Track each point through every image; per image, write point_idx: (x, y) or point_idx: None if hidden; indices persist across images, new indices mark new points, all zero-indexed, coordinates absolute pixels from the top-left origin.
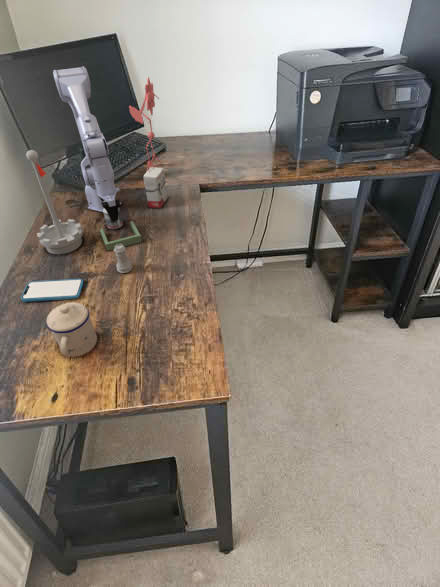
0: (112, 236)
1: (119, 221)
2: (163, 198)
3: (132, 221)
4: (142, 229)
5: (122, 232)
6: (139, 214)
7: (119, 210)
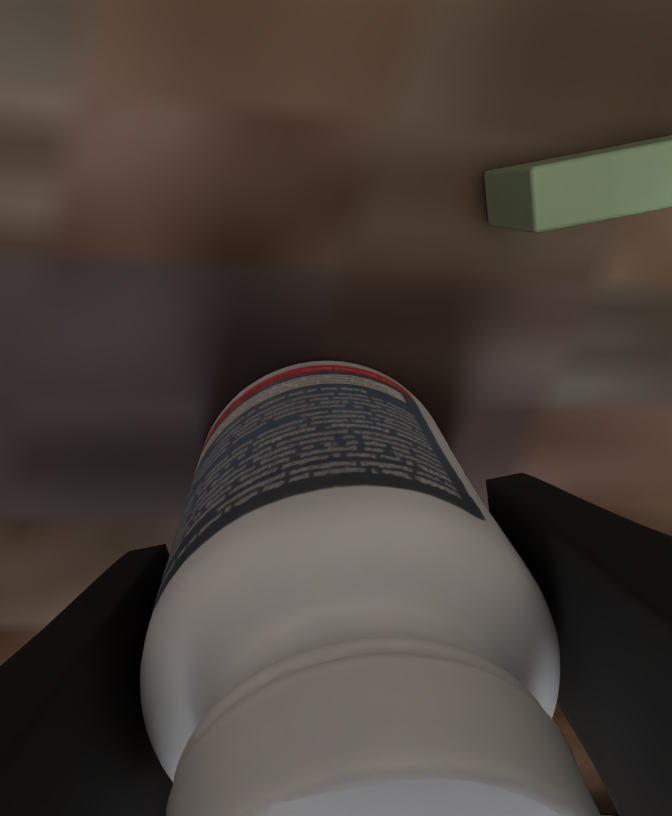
0: (616, 508)
1: (435, 431)
2: None
3: (554, 174)
4: (621, 13)
5: (570, 372)
6: (15, 11)
7: (395, 477)
